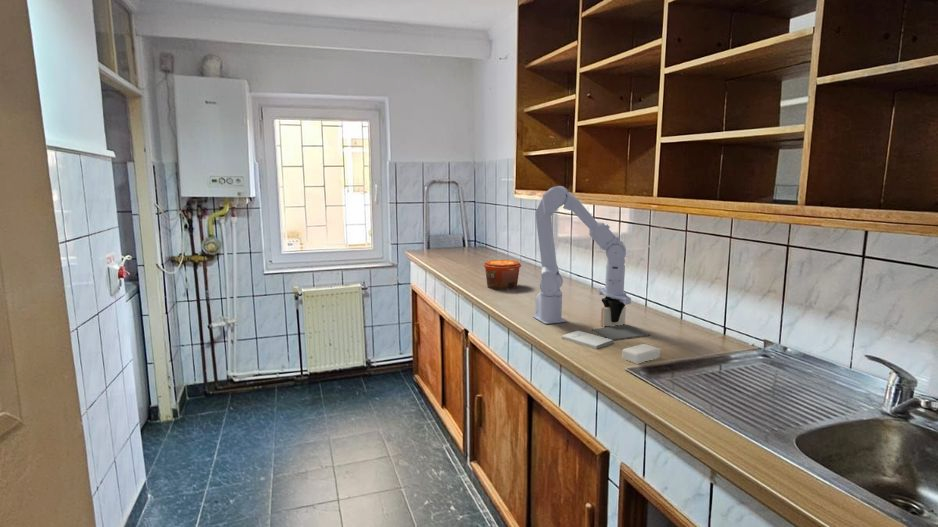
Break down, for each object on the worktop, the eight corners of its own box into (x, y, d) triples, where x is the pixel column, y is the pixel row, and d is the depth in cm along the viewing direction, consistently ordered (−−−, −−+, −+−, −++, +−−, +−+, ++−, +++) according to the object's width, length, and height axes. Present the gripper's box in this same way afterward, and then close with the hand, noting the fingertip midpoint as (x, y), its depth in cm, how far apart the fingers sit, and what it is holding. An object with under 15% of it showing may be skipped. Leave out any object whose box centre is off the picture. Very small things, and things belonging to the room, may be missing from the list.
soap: (637, 365, 132) (637, 354, 132) (620, 359, 137) (621, 348, 136) (660, 359, 137) (661, 348, 136) (644, 353, 141) (644, 342, 141)
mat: (591, 330, 161) (591, 329, 161) (628, 326, 165) (628, 324, 165) (611, 340, 151) (611, 339, 151) (649, 335, 155) (649, 334, 155)
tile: (600, 325, 166) (601, 307, 165) (622, 323, 168) (622, 305, 167) (603, 327, 164) (604, 308, 163) (624, 324, 167) (625, 306, 166)
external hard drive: (596, 351, 144) (561, 340, 153) (613, 345, 149) (578, 334, 159) (596, 345, 144) (561, 335, 153) (613, 339, 149) (578, 329, 158)
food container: (502, 281, 234) (503, 257, 232) (528, 287, 222) (528, 262, 220) (476, 286, 224) (476, 261, 222) (501, 292, 212) (501, 266, 210)
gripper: (640, 283, 158) (637, 325, 160) (612, 274, 172) (610, 314, 174) (620, 284, 156) (618, 328, 158) (593, 275, 169) (592, 316, 172)
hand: (613, 321), depth 166 cm, fingers closed on tile, 1 cm apart
